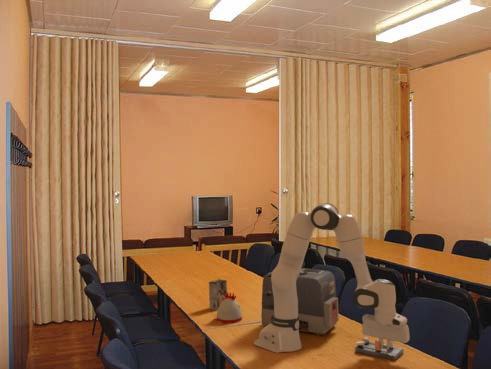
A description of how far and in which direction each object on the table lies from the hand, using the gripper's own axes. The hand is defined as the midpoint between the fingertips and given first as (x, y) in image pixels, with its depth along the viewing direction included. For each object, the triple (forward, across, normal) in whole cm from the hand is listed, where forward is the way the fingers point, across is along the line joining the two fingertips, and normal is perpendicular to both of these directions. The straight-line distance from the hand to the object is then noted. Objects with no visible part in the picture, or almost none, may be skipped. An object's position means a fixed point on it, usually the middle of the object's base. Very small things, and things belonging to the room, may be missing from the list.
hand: (385, 348), depth 217 cm
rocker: (0, -12, 0) cm, 12 cm away
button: (+1, -12, +6) cm, 13 cm away
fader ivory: (+1, 0, +6) cm, 6 cm away
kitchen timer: (+4, -90, +6) cm, 90 cm away
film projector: (+4, -50, +15) cm, 52 cm away
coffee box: (+4, -109, +20) cm, 111 cm away
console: (+3, -4, +3) cm, 6 cm away
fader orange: (+1, -3, 0) cm, 3 cm away
